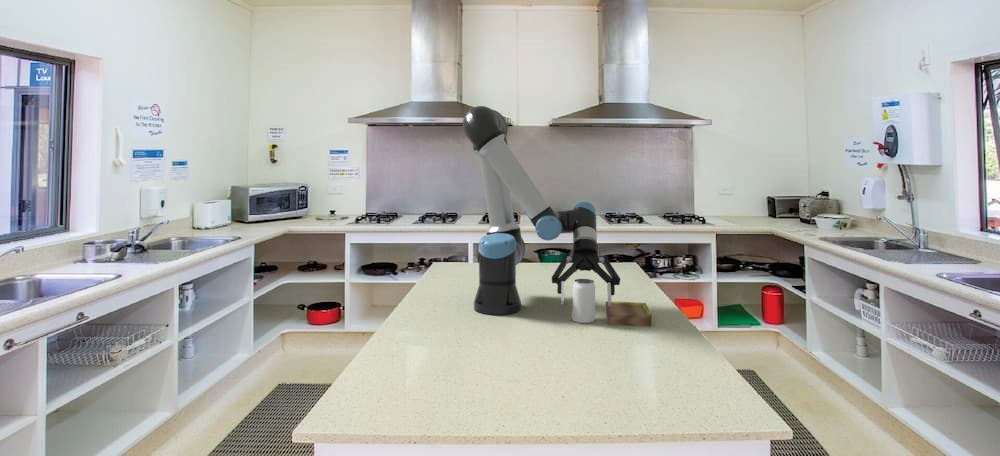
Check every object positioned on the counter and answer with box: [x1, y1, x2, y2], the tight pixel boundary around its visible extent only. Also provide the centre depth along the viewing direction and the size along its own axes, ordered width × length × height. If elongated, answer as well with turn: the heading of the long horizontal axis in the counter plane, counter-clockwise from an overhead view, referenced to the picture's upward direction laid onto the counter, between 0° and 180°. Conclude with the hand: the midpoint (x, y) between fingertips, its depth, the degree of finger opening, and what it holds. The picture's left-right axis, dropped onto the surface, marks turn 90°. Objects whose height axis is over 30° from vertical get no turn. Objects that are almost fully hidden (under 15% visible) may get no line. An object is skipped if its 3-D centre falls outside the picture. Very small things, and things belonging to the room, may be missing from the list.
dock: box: [605, 300, 653, 328], centre depth 148 cm, size 12×12×4 cm
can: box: [571, 278, 596, 325], centre depth 146 cm, size 6×6×12 cm
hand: (586, 303), depth 145 cm, fingers open, 13 cm apart
